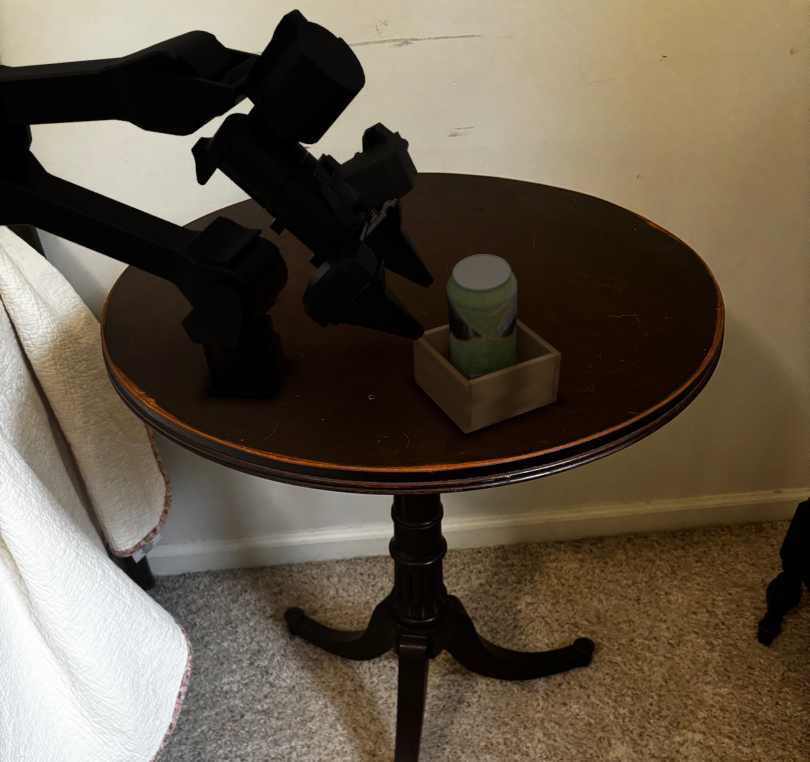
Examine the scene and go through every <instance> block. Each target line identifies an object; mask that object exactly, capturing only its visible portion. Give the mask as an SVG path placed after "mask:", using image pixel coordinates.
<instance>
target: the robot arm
mask: <svg viewBox="0 0 810 762" xmlns="http://www.w3.org/2000/svg"><path fill="white" fill-rule="evenodd" d="M365 85H366V74H365V70H364V68H363V65H362V63H361V61H360V59H359V58H358V56H357V55H356V53H355V51H354V50H353V49H352V47H350V45H349V44H348V43H347V42H346V40H345V39H344V38H343V37H341V36H339V37H337V36H336V35H335V34H334V33H333V32H332V31H331V30H329V29H328V28H326V27H325V26H323V25H321V24H319V23H317V22H313V21H311V20H308V19H307V18H306V17H305V15H304V14H303V13H302V11H300V9H298V8H293V9H292V10H290V11H288V12H286V14H284V15H283V16H282V18H281V19H280V20H279V22H278V24H277V25H276V26H275V28H274V31H273V34H272V36H271V38H270V40H269V42H268V44H267V45H266V46H265V47H264V49H263V51H262V52H261V53H260V54H258V53H253V52H249V51H246V50H245V51H243V50H239V49H236V48H231V47H230V48H229V47H227V46H225V45H224V44H223V43H222V42H221V41H220V40H219V39H217V36H216V35H215V34H214V33H212V32H209V31H206V30H200V29H195V30H194V29H193V30H190V31H187V32H184V33H181V34H179V35H176V36H174V37H170V38H168V39H165V40H162V41H160V42H157V43H155V44H152V45H149V46H147V47H145V48H142V49H140V50H137V51H134V52H132V53H129V54H126V55H123V56H118V57H107V58H97V59H86V60H74V61H62V62H52V63H43V64H42V63H39V64H29V65H19V66H12V65H11V66H10V65H5V64H0V227H8V226H9V227H10V226H11V227H12V226H13V227H14V226H17V227H18V226H29V227H34V228H36V229H38V230H40V231H43V232H46V233H49V234H51V235H53V236H56V237H58V238H61V239H62V240H66V241H67V242H70V243H73V244H76V245H77V246H81V247H83V248H85V249H87V250H90V251H93V252H96V253H97V254H100V255H103V256H105V257H108V258H110V259H113V260H115V261H118V262H120V263H123V264H125V265H127V266H130V267H132V268H135V269H137V270H140V271H143V272H145V273H147V274H150V275H152V276H155V277H157V278H160V279H163V280H164V281H167V282H169V283H171V284H174V286H175V287H176V288H177V290H178V291H179V292H180V293H181V294H182V295H183V297H184V298H185V299H186V301H187V302H188V304H190V306H191V307H192V309H191V310H190V311H189V313H187V315H186V316H185V317H184V318H183V320H182V321H181V326H182V327H183V329H184V331H185V332H186V334H187V336H188V337H189V339H190V341H191V342H192V343H193V344H198V345H201V346H202V350H203V352H204V357H205V361H206V365H207V369H208V374H209V376H210V381H209V383H208V386H207V387H206V394H207V396H210V397H237V398H238V397H239V398H271V397H272V396H273V394H274V392H275V390H276V387H277V385H278V383H279V382H280V381H281V379H282V377H283V373H284V371H285V369H286V359H285V356H284V350H283V346H282V340H281V335H280V334H281V333H280V331H278V330H274V325H273V319H272V315H271V314H267V312H268V311H269V310H270V309H271V307H274V305H275V304H276V302H277V298H278V296H279V294H281V292H283V290H284V289H285V288H286V286H287V283H288V279H289V268H288V266H287V263H286V260H285V258H284V256H283V255H282V254H281V252H280V248H279V247H278V246H277V245H276V244H275V243H274V242H273V241H271V240H269V239H267V238H266V237H263V236H260V235H261V234H262V233H263V231H262V229H261V228H251V227H247V226H243V225H242V224H239V223H237V222H236V221H235V220H233V219H231V218H229V217H225V216H223V215H218V216H217V217H215V219H213V220H212V221H211V222H210V223H209V224H208V225H207V226H205V227H204V228H203V229H202V230H195V229H194V230H193V229H189V228H187V227H185V226H182V225H180V224H176V223H174V222H171V221H169V220H167V219H164V218H161V217H159V216H156V215H155V214H152V213H149V212H147V211H144V210H142V209H140V208H137V207H134V206H132V205H129V204H127V203H124V202H122V201H119V200H117V199H114V198H111V197H109V196H107V195H104V194H101V193H100V192H97V191H95V190H92V189H89V188H86V187H84V186H81V185H79V184H76V183H74V182H72V181H69V180H67V179H64V178H62V177H60V176H57V175H54V174H52V173H50V172H48V171H47V169H46V168H45V167H44V165H43V164H42V163H41V161H40V160H39V159H38V158H37V157H36V155H35V154H34V153H33V152H32V151H31V146H32V143H33V134H32V129H31V126H38V125H39V126H40V125H54V124H55V125H57V124H72V123H88V122H100V121H101V122H104V121H120V122H125V123H129V124H131V125H133V126H135V127H137V128H138V129H140V130H142V131H145V132H150V133H157V134H164V135H169V136H177V137H187V136H190V135H193V134H195V133H196V132H197V131H199V130H200V129H202V128H203V127H204V126H206V125H207V124H209V123H210V122H211V121H213V120H214V119H215V118H220V117H223V116H224V115H226V114H227V113H228V112H230V111H231V110H232V109H234V108H235V107H236V106H238V105H239V104H241V103H242V102H243V101H245V100H246V99H248V100H249V101H250V102H251V104H252V105H253V106H252V108H251V109H250V110H249V111H248V113H244V112H233V113H230V114H228V115H227V116H226V117H225V118H224V120H223V121H222V122H221V124H220V126H219V127H218V128H217V130H216V131H215V133H214V134H213V136H208V137H206V136H205V137H204V136H201V137H199V138H198V140H197V141H196V142H195V143H194V145H193V146H192V147H191V149H190V152H191V155H192V157H193V161H194V164H195V166H194V168H195V176H196V182H197V184H198V185H200V186H205V185H207V183H208V182H209V181H210V179H211V178H212V177H213V175H214V173H215V172H216V171H217V170H219V171H220V172H221V173H222V174H223V175H224V176H225V177H227V178H228V179H229V180H230V181H231V182H232V183H234V184H235V185H236V187H238V188H239V189H241V190H242V192H244V193H245V194H246V195H247V196H248V197H249V198H250V199H252V200H253V201H254V202H255V203H256V204H257V205H259V207H261V208H262V209H263V210H264V211H265V212H266V213H268V214H269V215H270V216H271V217H272V218H273V219H272V220H271V222H270V225H269V228H270V229H271V230H272V231H273V232H274V233H275V234H277V236H280V235H281V234H282V233H283V232H284V230H285V229H286V231H288V232H289V233H290V234H291V235H292V236H293V237H295V238H296V239H297V240H298V241H299V242H301V243H302V244H303V245H304V246H305V247H306V248H307V249H309V251H311V252H312V253H311V256H310V258H309V260H308V263H309V264H311V265H312V266H313V267H314V268H316V270H315V272H314V273H313V274H312V275H311V276H310V278H309V280H308V283H307V284H306V288H305V290H304V292H303V295H302V297H301V298H302V304H303V305H302V306H303V313H305V314H306V315H307V316H308V317H309V318H310V319H311V320H313V321H314V322H315V323H316V324H318V326H320V327H321V328H327V326H329V324H331V325H333V326H335V327H337V326H338V325H340V324H344V325H351V326H356V327H361V328H366V329H370V330H375V331H379V332H383V333H387V334H390V335H394V336H398V337H402V338H405V339H410V340H412V341H413V340H418V339H419V338H421V337H422V336H423V335H424V333H425V331H426V330H425V328H424V327H423V325H422V324H421V323H420V322H419V321H418V318H416V317H415V316H414V314H413V313H412V312H411V311H410V310H409V309H408V308H407V307H406V305H405V304H404V303H403V302H402V301H401V299H399V298H398V295H396V294H395V293H394V292H393V290H392V289H391V288H390V287H389V286H388V284H387V281H386V280H387V279H386V270H385V269H387V270H389V271H391V272H393V273H394V274H396V275H398V276H400V277H402V278H404V279H406V280H408V281H410V282H412V283H414V284H416V285H418V286H421V287H423V288H425V289H427V288H429V287H431V285H433V283H434V282H435V277H434V276H433V274H432V272H431V270H430V269H429V267H428V266H427V265H428V264H426V262H425V260H424V259H423V257H422V255H421V253H420V252H419V251H418V248H417V247H416V246H415V244H414V242H413V240H412V239H411V237H410V235H409V233H408V232H407V230H406V228H405V226H404V223H403V200H404V199H403V197H404V196H406V195H408V194H409V193H410V192H411V191H412V190H413V189H414V188H415V177H416V176H417V175H418V172H419V171H418V169H417V167H416V166H415V163H414V161H413V159H412V157H411V155H410V152H409V151H408V150H409V146H410V142H409V141H408V140H407V139H406V138H403V137H402V135H401V133H400V132H399V130H396V131H395V132H393V131H392V130H391V129H389V128H388V127H387V126H385V124H383V123H382V122H381V121H379V122H376V123H375V124H372V125H371V126H369V127H367V128H365V130H364V132H363V134H362V135H361V136H362V137H361V147H362V148H361V149H362V150H361V152H360V150H358V151H356V152H355V153H354V154H353V156H352V157H351V158H350V159H348V160H346V161H344V162H343V163H340V162H339V161H338V160H337V159H336V158H334V157H333V155H331V154H330V153H329V154H327V155H326V154H325V153H324V152H323V153H322V154H321V155H320V156H319V157H318V158H316V156H314V155H313V154H312V152H310V151H309V150H308V148H306V147H305V146H304V145H310V146H311V145H315V144H318V142H320V140H322V138H323V137H324V136H325V134H326V133H327V132H328V131H329V129H330V128H331V127H332V126H333V125H334V124H335V123H336V121H337V120H338V119H339V118H340V117H341V115H342V114H343V113H344V111H345V110H346V109H347V108H348V107H349V106H350V105H351V103H352V102H353V101H354V99H355V98H356V97H357V96H358V95H359V93H360V92H361V91H362V90H363V89H364V88H365ZM303 144H304V145H303ZM388 201H392V202H391V203H389V202H388Z"/></svg>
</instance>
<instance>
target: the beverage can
mask: <svg viewBox="0 0 810 762" xmlns="http://www.w3.org/2000/svg"><path fill="white" fill-rule="evenodd" d="M446 300H447V316H448V324H449V333H450V350H451V365H452V366H453V367H454V368H455V369H456V370H457V371H458V372H459V373H460V374H461V375H462V376H463V377H465V378H466V379H467V380H468V381H470V380H473V379H476V378H479V377H481V376H484V375H487V374H490V373H493V372H496V371H499V370H502V369H505V368H508V367H511V366H514V365H516V327H517V319H518V281H517V278H516V275H515V274H514V272H513V271H512V267H511V265H510V264H509V263H508V262H507V260H505V259H504V258H502V257H500V256H497V255H495V254H489V253H487V254H485V253H479V254H473V255H470V256H467V257H464V258H462V259H461V260H459V261H458V262H457V263H456V264H455V265H454V267H453V269H452V273H451V275H449V278H448V280H447V284H446Z"/></svg>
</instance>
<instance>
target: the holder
mask: <svg viewBox="0 0 810 762" xmlns="http://www.w3.org/2000/svg"><path fill="white" fill-rule="evenodd" d="M412 344H413V365H414V366H413V368H414V382H415V384H417V385H418V387H420V389H422V390H423V392H424V393H425V394H426V395H427V396H429V398H430V399H432V401H433V402H434V403H435V404H436V405H437V406H438V407H439V408H440V410H442V412H444V414H446V415H447V417H449V419H451V421H453V423H454V424H456V426H457V427H458V428H459V429H460V430H461V431H462V432H463V433H464V434H465V435H466V434H469V433H472V432H476V431H478V430H480V429H483V428H486V427H489V426H491V425H495V424H498V423H500V422H503V421H506V420H508V419H509V420H510V419H512V418H514V417H516V416H517V417H518V416H519V415H522V414H525V413H528V412H531V411H534V410H536V409H539V408H541V407H545V406H547V405H550V404H553V403H555V402H557V400H558V391H559V381H560V371H561V361H562V353H561V351H559V350H557V349H556V348H555V347H554V346H552V345H551V344H550V343H548V341H546V340H545V339H544V338H542V337H541V336H540V335H539V334H537V333H536V332H535V331H534V330H532V329H531V328H530V327H529V326H527V325H526V324H524V323H523V322H522V321H521V320H519V319H518V318H517V327H516V365H514V366H511V367H508V368H505V369H502V370H499V371H496V372H493V373H490V374H487V375H484V376H481V377H479V378H476V379H473V380H470V381H468V380H467V379H466V378H465V377H463V376H462V375H461V374H460V373H459V372H458V371H457V370H456V369H455V368H454V367H453V366H452V365H451V350H450V333H449V323H447V324H443V325H441V326H438V327H437V326H436V327H433V328H430V329H428V330H425V333H424V335H423V336H422V337H421V338H419V339H418V340H413V339H412Z"/></svg>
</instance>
